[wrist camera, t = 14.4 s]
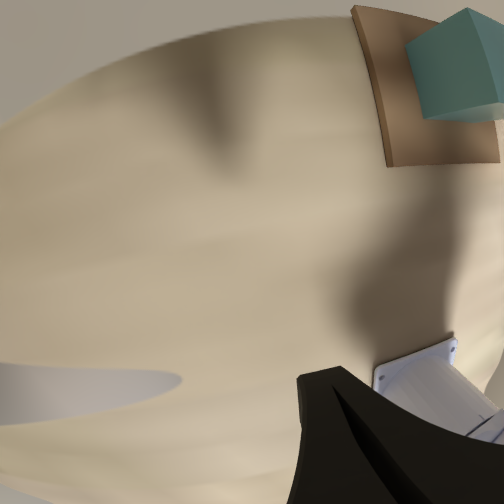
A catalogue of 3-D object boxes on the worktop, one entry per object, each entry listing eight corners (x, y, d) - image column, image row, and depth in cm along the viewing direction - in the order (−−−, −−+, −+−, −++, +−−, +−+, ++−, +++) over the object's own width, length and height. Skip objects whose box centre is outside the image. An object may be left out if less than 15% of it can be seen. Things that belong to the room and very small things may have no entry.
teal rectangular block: (474, 123, 15) (542, 115, 9) (423, 119, 15) (498, 102, 8) (457, 57, 14) (518, 33, 7) (404, 45, 14) (466, 7, 7)
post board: (493, 162, 17) (542, 164, 11) (387, 167, 16) (442, 165, 11) (463, 35, 14) (504, 17, 9) (350, 10, 14) (384, -31, 8)
